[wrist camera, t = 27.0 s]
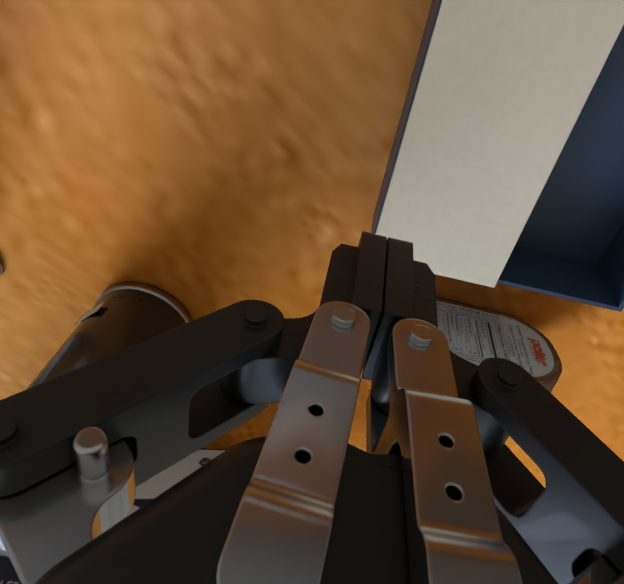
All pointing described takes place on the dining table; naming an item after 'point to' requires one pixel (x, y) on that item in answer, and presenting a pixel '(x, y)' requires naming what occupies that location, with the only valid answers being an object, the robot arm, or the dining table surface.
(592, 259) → the carton
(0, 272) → the phone holder
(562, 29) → the carton flap
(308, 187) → the dining table surface
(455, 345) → the tin
